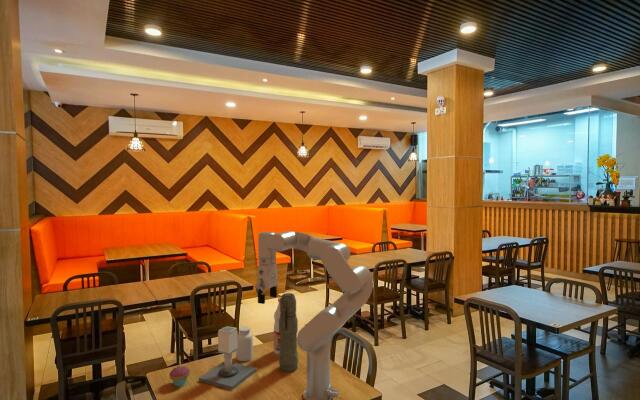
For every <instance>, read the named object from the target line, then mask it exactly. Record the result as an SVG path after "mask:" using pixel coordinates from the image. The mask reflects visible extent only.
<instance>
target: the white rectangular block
mask: <svg viewBox="0 0 640 400" xmlns="http://www.w3.org/2000/svg"><path fill="white" fill-rule="evenodd" d="M237 335H238V327H234V326H228V325H226V326H224V327H222V328H221V329H218V331H217V341H218V343H217V344H218V345H217V346H218V347H217V348H218V349H217V350H218V352H217V353H219V354H223V355H224V354H227V355H230V354H233V353H236V350H238V345H237Z"/></svg>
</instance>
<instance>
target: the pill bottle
mask: <svg viewBox="0 0 640 400" xmlns="http://www.w3.org/2000/svg"><path fill="white" fill-rule="evenodd" d="M253 338H254V337H253V334H252V333H251V328H250V327H248V326H242V327H239V328H238V333H237V345H238V350H236V351H235V353H236V356H235V358H236V360H237V361H238V362H248V361H251V360H252V359H253V353H254V351H253V347H254V346H253V345H254V343H253Z"/></svg>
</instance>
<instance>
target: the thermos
mask: <svg viewBox="0 0 640 400" xmlns="http://www.w3.org/2000/svg"><path fill="white" fill-rule="evenodd" d="M280 298H281V299H280V312H281V314H280V318H279V333H280V354H279V355H278V365H279V366H278V367H279V370H280V371H281V372H283V373H293V372H295V371H297V370H298V368H299V365H298V363H299V352H298V348H297V346H298V343H297V335H298V332H299V331H298V329H299V327H298V326H299V323H298V317H297V299H296V296H295V294H293V293H290V292H288V293H287V292H286V293H283V294H282V295H281V296H280Z"/></svg>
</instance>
